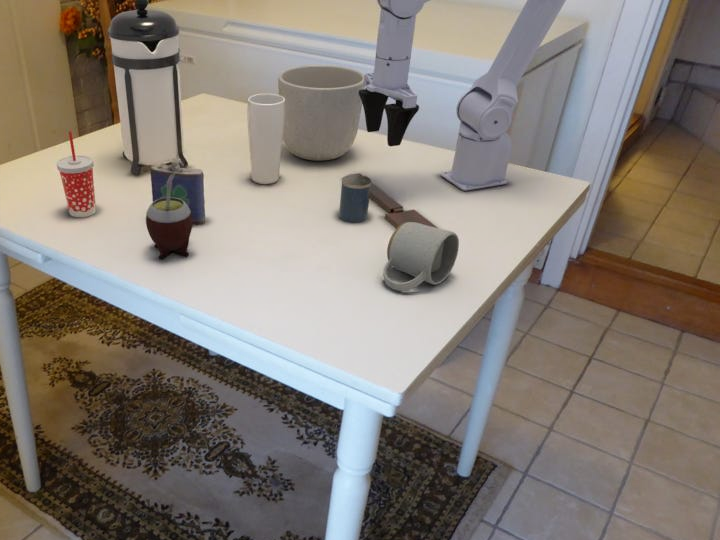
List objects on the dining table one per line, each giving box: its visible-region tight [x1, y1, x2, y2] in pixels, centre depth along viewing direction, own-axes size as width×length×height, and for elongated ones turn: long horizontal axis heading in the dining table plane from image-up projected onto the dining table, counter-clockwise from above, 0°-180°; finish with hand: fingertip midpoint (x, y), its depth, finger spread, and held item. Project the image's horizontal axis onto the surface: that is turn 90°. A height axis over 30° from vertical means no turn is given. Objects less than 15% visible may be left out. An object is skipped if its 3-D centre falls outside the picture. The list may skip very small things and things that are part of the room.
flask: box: [149, 158, 206, 225], centre depth 113 cm, size 9×3×11 cm, turn 74°
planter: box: [277, 64, 366, 162], centre depth 136 cm, size 17×17×15 cm
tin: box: [338, 174, 373, 223], centre depth 115 cm, size 5×5×6 cm
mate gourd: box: [145, 173, 194, 261], centre depth 102 cm, size 8×8×15 cm
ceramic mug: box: [382, 222, 460, 292], centre depth 98 cm, size 11×8×8 cm
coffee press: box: [107, 0, 189, 176], centre depth 129 cm, size 17×16×30 cm
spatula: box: [350, 172, 438, 229], centre depth 120 cm, size 6×26×1 cm, turn 19°
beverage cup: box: [55, 130, 97, 218], centre depth 115 cm, size 6×6×14 cm
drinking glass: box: [246, 93, 285, 185], centre depth 125 cm, size 7×7×15 cm
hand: (383, 138), depth 120 cm, fingers open, 7 cm apart
